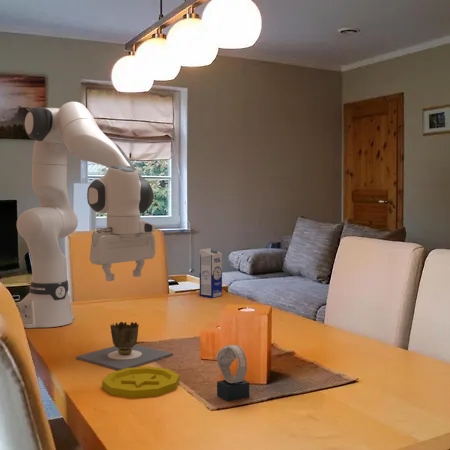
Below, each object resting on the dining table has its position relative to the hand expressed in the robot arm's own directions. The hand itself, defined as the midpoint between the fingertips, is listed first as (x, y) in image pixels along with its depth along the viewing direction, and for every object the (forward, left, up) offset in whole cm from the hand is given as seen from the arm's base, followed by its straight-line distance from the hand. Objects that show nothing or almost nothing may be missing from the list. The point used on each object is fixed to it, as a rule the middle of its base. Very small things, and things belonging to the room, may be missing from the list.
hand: (123, 278), depth 158 cm
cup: (0, 0, -21) cm, 21 cm away
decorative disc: (+21, -13, -22) cm, 33 cm away
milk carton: (-39, +84, -21) cm, 95 cm away
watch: (+42, -6, -21) cm, 47 cm away
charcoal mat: (+1, 0, -21) cm, 21 cm away
